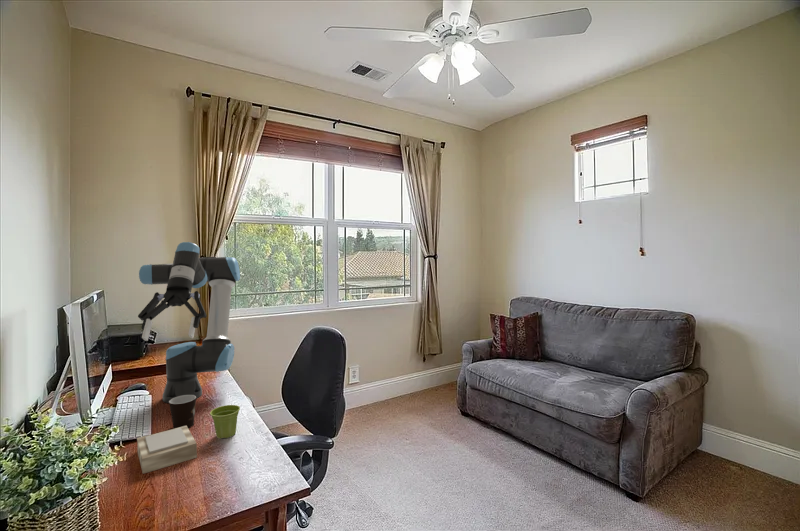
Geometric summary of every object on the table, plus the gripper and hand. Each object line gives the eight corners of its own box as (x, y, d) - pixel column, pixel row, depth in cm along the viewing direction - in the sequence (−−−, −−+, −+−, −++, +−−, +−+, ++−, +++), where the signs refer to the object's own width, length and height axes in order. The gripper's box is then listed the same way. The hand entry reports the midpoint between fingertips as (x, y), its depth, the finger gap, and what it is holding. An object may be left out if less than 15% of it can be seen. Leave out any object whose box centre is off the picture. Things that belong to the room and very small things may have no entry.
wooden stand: (137, 451, 123) (136, 436, 123) (186, 438, 132) (186, 423, 132) (142, 473, 111) (142, 456, 111) (197, 457, 120) (196, 441, 120)
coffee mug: (185, 432, 136) (184, 404, 136) (164, 430, 138) (163, 403, 138) (207, 418, 148) (207, 392, 147) (188, 417, 149) (187, 391, 149)
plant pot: (221, 444, 128) (221, 418, 128) (205, 437, 133) (204, 412, 133) (246, 432, 136) (245, 408, 136) (229, 426, 141) (229, 402, 140)
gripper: (137, 276, 131) (119, 335, 119) (215, 274, 135) (206, 330, 123) (146, 288, 137) (130, 344, 125) (221, 285, 141) (212, 340, 129)
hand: (167, 338), depth 124 cm, fingers open, 13 cm apart
